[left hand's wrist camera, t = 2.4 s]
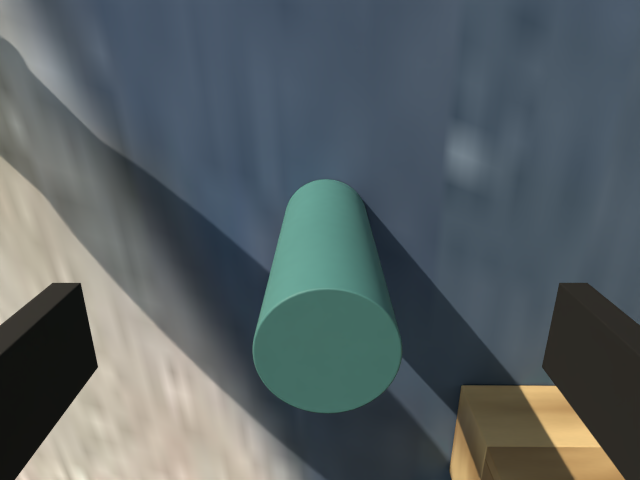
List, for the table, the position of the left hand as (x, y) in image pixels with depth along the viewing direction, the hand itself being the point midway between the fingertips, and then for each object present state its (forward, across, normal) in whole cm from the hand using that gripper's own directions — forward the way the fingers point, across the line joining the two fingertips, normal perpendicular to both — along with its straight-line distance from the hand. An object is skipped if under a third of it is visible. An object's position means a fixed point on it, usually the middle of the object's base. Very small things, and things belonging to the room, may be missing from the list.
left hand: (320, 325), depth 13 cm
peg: (+8, 0, 0) cm, 8 cm away
